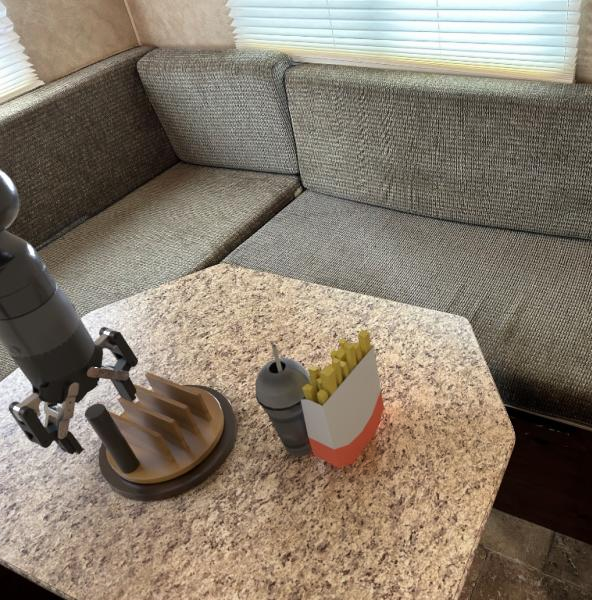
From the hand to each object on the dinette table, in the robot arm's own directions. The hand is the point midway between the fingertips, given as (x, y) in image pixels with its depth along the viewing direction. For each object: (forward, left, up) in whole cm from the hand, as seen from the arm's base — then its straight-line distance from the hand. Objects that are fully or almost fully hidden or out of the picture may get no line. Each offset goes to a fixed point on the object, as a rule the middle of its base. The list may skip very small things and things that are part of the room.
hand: (103, 423), depth 75 cm
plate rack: (+6, +2, -10) cm, 12 cm away
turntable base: (+6, +2, -12) cm, 13 cm away
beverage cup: (+19, -12, -12) cm, 25 cm away
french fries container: (+24, -17, -12) cm, 32 cm away
